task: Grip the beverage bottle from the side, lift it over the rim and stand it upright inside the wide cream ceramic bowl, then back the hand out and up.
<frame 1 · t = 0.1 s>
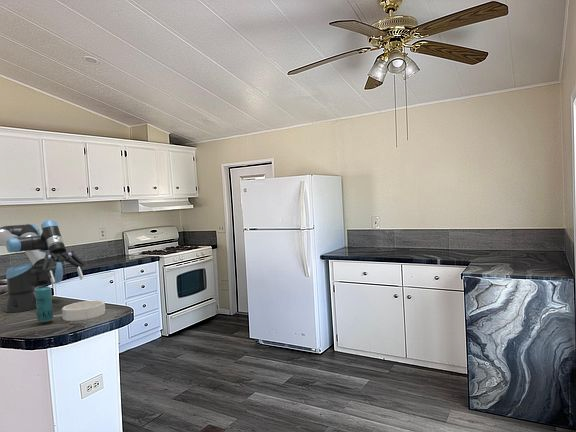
hand: (68, 280, 211), 15 cm above the counter, tool tilted 35°, fingers open, 13 cm apart
beverage bottle: (45, 323, 189), on the counter
bowl: (84, 315, 199), on the counter
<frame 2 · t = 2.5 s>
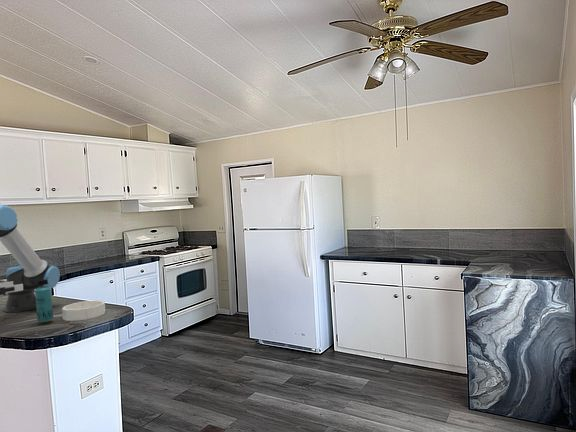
hand: (17, 285, 181), 19 cm above the counter, tool horizontal, fingers open, 13 cm apart
nothing on the counter moved.
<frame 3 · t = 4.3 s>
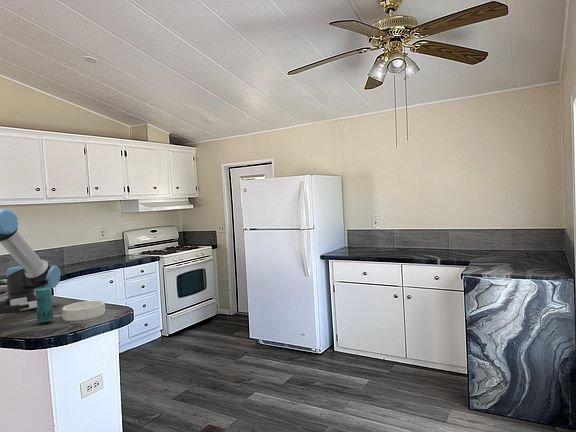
hand: (31, 302, 184), 11 cm above the counter, tool horizontal, fingers open, 13 cm apart
nothing on the counter moved.
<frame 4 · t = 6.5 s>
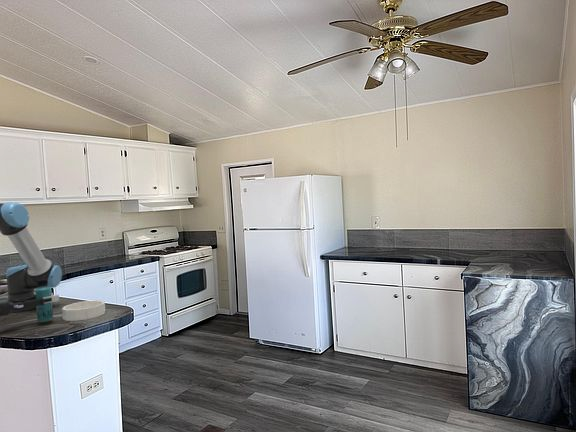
hand: (55, 296, 192), 11 cm above the counter, tool horizontal, fingers closed on beverage bottle, 6 cm apart
beverage bottle: (45, 323, 189), on the counter, touching gripper
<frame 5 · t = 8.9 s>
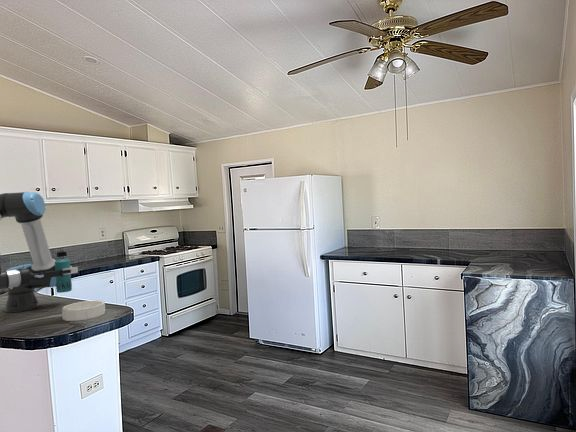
hand: (74, 269, 196), 23 cm above the counter, tool horizontal, fingers closed on beverage bottle, 6 cm apart
beverage bottle: (64, 294, 193), point 12 cm above the counter, touching gripper
when the fingers open (13 cm above the counter, at t = 11.5 s): beverage bottle drops 1 cm, resting on bowl.
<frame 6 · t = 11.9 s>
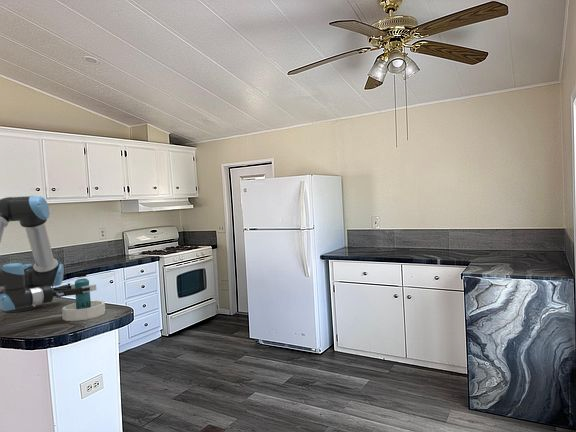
hand: (90, 286, 201), 13 cm above the counter, tool horizontal, fingers open, 11 cm apart
beverage bottle: (84, 313, 199), point 1 cm above the counter, touching bowl
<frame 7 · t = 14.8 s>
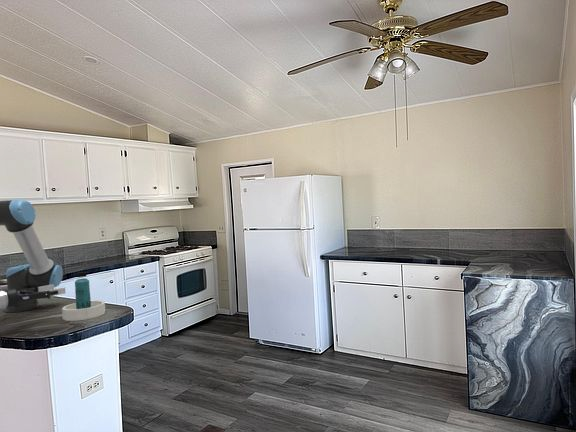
hand: (59, 288, 191), 15 cm above the counter, tool horizontal, fingers open, 13 cm apart
nothing on the counter moved.
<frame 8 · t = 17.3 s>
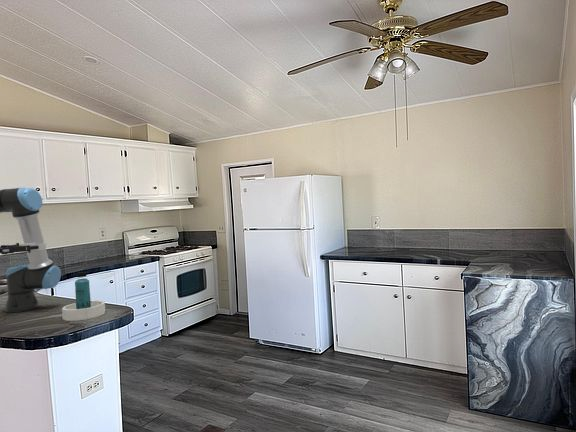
hand: (40, 245, 193), 35 cm above the counter, tool horizontal, fingers open, 13 cm apart
nothing on the counter moved.
at the end: beverage bottle inside the target area on the bowl (0.2 cm from its centre), point 0.8 cm above the bowl's base; beverage bottle tilted 0°; the gripper is holding nothing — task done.
